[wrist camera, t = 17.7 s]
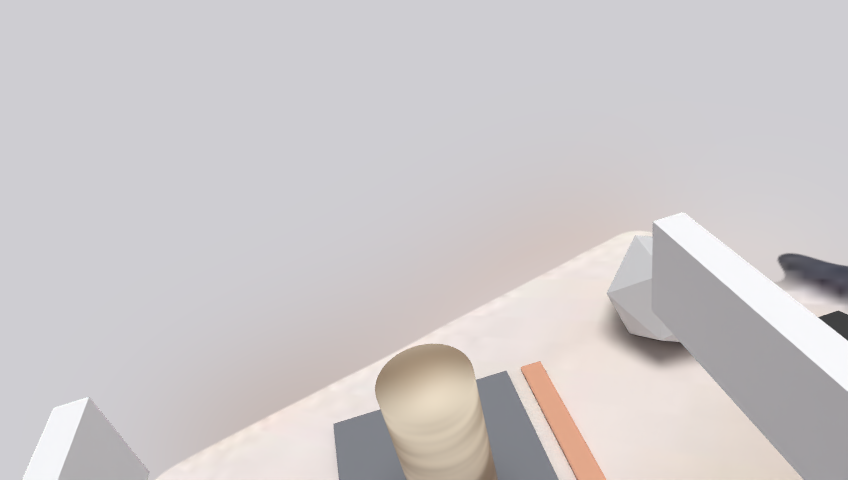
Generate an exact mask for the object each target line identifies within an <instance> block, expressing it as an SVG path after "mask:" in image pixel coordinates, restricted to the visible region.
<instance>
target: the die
mask: <svg viewBox="0 0 848 480" xmlns="http://www.w3.org/2000/svg"><path fill="white" fill-rule="evenodd" d="M652 247H653V237H650V236H636V235H635V237H634V239H633V241H632V243H631V245H630V247H629V249H628V251H627V253H626V255H625V257H624V259H623V261H622V263H621V265H620V267H619V269H618V271H617V273H616V276H615V278H614V280H613V282H612V284H611V286H610V288H609V290H608V292H607V295H608V297H609V298H610V300H611V302H612V304H613V306H614V307H615V309H616V311H617V313H618V314H619V316H620V318H621V320H622V321H623V323H624V325H625V327H626V328H627V330H628V332H629V334H634V335H638V336H643V337H647V338H652V339H656V340H662V341H675V342H680V341H679V340H678V339H677V338H676V337H675V336H674V334H673V333H672V332H671V331H670V330H669V329H668V328H667V327H666V326H665V324H664V323H663V322H662V321H661V320H660V319H659V318H658V317H657V316H656V314H655V313H654V312H653V311H652Z"/></svg>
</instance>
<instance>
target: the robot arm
mask: <svg viewBox="0 0 848 480" xmlns="http://www.w3.org/2000/svg"><path fill="white" fill-rule="evenodd" d="M652 311H653V312H654V313H655V314H656V316H657V317H658V318H659V319H660V320H661V321H662V322H663V323H664V324H665V326H666V327H667V328H668V329H669V330H670V331H671V332H672V333H673V334H674V336H675V337H676V338H677V339H678V340H679V341H680V342H681V343H682V345H683V346H684V347H685V348H686V349H687V350H688V351H689V352H690V353H691V355H692V356H693V357H694V358H695V359H696V360H697V361H698V362H699V363H700V365H701V366H702V367H703V368H704V369H705V370H706V371H707V372H708V373H709V375H710V376H711V377H712V378H713V379H714V380H715V381H716V382H717V383H718V385H719V386H720V387H721V388H722V389H723V390H724V391H725V392H726V394H727V395H728V396H729V397H730V398H731V399H732V400H733V401H734V402H735V404H736V405H737V406H738V407H739V408H740V409H741V410H742V411H743V412H744V414H745V415H746V416H747V417H748V418H749V419H750V420H751V421H752V422H753V424H754V425H755V426H756V427H757V428H758V429H759V430H760V431H761V432H762V434H763V435H764V436H765V437H766V438H767V439H768V440H769V441H770V443H771V444H772V445H773V446H774V447H775V448H776V449H777V450H778V451H779V453H780V454H781V455H782V456H783V457H784V458H785V459H786V460H787V461H788V463H789V464H790V465H791V466H792V467H793V468H794V469H795V470H796V471H797V473H798V474H799V475H800V476H801V477H802V478H803V479H804V480H848V315H847V314H845V313H843V312H840V311H836V312H833V313H830V314H827V315H824V316H821V317H817V316H816V315H814V314H813V313H812V312H810V311H809V310H808V309H807V308H805V307H804V306H803V305H802V304H800V303H799V302H798V301H796V300H795V299H794V298H793V297H791V296H790V295H789V294H787V293H786V292H785V291H784V290H782V289H781V288H780V287H779V286H777V285H776V284H775V283H773V282H772V281H771V280H770V279H768V278H767V277H766V276H764V275H763V274H762V273H761V272H759V271H758V270H757V269H756V268H754V267H753V266H752V265H750V264H749V263H748V262H747V261H745V260H744V259H743V258H742V257H740V256H739V255H738V254H736V253H735V252H734V251H732V250H731V249H730V248H729V247H727V246H726V245H725V244H724V243H722V242H721V241H720V240H719V239H717V238H716V237H715V236H713V235H712V234H711V233H710V232H708V231H707V230H705V229H704V228H703V227H702V226H701V225H699V224H698V223H697V222H696V221H694V220H693V219H692V218H690V217H689V216H688V215H687V214H685V213H684V212H682V213H679V214H676V215H672V216H669V217H666V218H663V219H659V220H656V221H653V247H652ZM148 475H149V471H148V469H147V468H146V467H145V466H144V464H143V463H142V462H141V461H140V459H139V458H138V457H137V456H136V454H135V453H134V452H133V451H132V450H131V448H130V447H129V446H128V444H127V443H126V442H125V441H124V440H123V438H122V437H121V436H120V435H119V433H118V432H117V431H116V430H115V428H114V427H113V426H112V425H111V423H110V422H109V421H108V420H107V418H106V417H105V416H104V415H103V413H102V412H101V411H100V410H99V408H98V407H97V406H96V405H95V404H94V402H93V401H92V400H91V399H90V397H87V398H84V399H80V400H77V401H74V402H71V403H67V404H64V405H61V406H58V407H55V408H53V410H52V413H51V415H50V418H49V420H48V422H47V424H46V426H45V429H44V431H43V433H42V435H41V438H40V440H39V442H38V445H37V447H36V449H35V452H34V454H33V456H32V458H31V461H30V463H29V465H28V467H27V470H26V472H25V474H24V476H23V479H22V480H148Z"/></svg>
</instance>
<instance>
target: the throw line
mask: <svg viewBox="0 0 848 480" xmlns="http://www.w3.org/2000/svg"><path fill="white" fill-rule="evenodd" d="M521 370H522V372H523V374H524V376H525V378H526V380H527V382H528V384H529V386H530V388H531V390H532V392H533V394H534V396H535V398H536V400H537V402H538V403H539V405H540V407H541V409H542V411H543V413H544V415H545V417H546V419H547V421H548V423H549V425H550V427H551V429H552V431H553V433H554V435H555V437H556V439H557V441H558V443H559V445H560V447H561V448H562V450H563V452H564V454H565V456H566V458H567V460H568V462H569V464H570V466H571V468H572V470H573V472H574V474H575V476H576V478H577V480H606V478H605V476H604V474H603V473H602V471H601V469H600V467H599V466H598V464H597V462H596V460H595V458H594V457H593V455H592V453H591V451H590V449H589V448H588V446H587V444H586V442H585V441H584V439H583V437H582V435H581V433H580V432H579V430H578V428H577V426H576V425H575V423H574V421H573V419H572V417H571V416H570V414H569V412H568V410H567V408H566V407H565V405H564V403H563V401H562V400H561V398H560V396H559V394H558V392H557V391H556V389H555V387H554V385H553V384H552V382H551V380H550V378H549V376H548V375H547V373H546V371H545V369H544V367H543V366H542V364H541V362H540V361H539V362H536V363H533V364H529V365H526V366H523V367H521Z"/></svg>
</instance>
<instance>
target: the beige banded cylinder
mask: <svg viewBox="0 0 848 480" xmlns="http://www.w3.org/2000/svg"><path fill="white" fill-rule="evenodd" d="M375 393H376V398H377V401H378V404H379V406H380V409H381V412H382V414H383V417H384V420H385V423H386V425H387V428H388V431H389V434H390V436H391V439H392V442H393V445H394V447H395V450H396V453H397V456H398V458H399V461H400V464H401V467H402V469H403V472H404V475H405V477H406V480H498V478H497V474H496V469H495V465H494V460H493V456H492V451H491V447H490V442H489V438H488V433H487V429H486V424H485V420H484V415H483V410H482V406H481V401H480V397H479V392H478V388H477V383H476V379H475V374H474V370H473V366H472V364H471V362H470V360H469V359H468V357H467V356H466V355H465V354H464V353H462V352H461V351H459V350H458V349H456V348H454V347H451V346H447V345H443V344H425V345H419V346H415V347H412V348H410V349H407V350H405V351H403V352H401V353H399V354H398V355H396V356H395V357H393V358H392V359H391V360H390V361H389V362H388V363H387V364H386V365H385V366H384V367H383V369H382V370H381V372H380V374H379V375H378V378H377V381H376V385H375Z"/></svg>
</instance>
